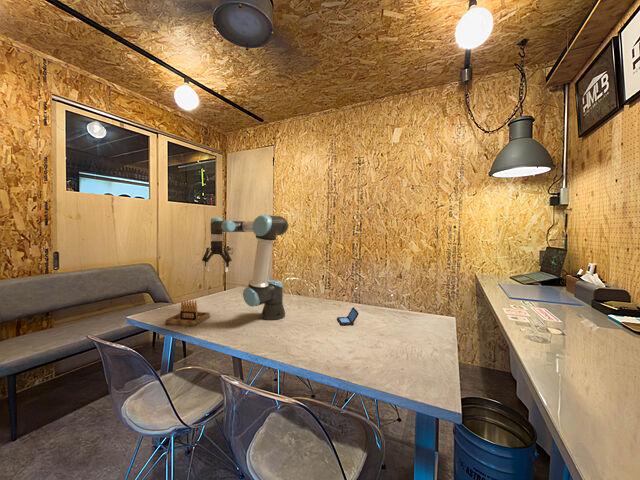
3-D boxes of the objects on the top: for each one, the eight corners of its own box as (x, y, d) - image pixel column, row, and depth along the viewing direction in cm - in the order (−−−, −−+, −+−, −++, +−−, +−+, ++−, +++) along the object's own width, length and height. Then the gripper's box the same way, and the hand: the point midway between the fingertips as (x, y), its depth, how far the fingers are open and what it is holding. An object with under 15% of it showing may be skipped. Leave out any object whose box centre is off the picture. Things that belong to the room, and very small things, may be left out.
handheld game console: (336, 318, 162) (336, 307, 162) (353, 318, 164) (353, 306, 164) (340, 326, 150) (340, 313, 150) (358, 325, 151) (359, 313, 151)
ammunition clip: (198, 319, 157) (197, 299, 156) (196, 320, 155) (195, 300, 154) (182, 318, 158) (181, 298, 158) (180, 319, 156) (179, 299, 156)
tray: (209, 317, 163) (209, 312, 163) (194, 326, 147) (194, 321, 147) (183, 315, 166) (183, 311, 166) (165, 324, 150) (165, 319, 150)
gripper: (236, 240, 178) (236, 271, 179) (202, 240, 181) (203, 270, 182) (231, 241, 170) (231, 273, 171) (196, 240, 174) (196, 271, 175)
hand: (216, 271), depth 177 cm, fingers open, 13 cm apart
